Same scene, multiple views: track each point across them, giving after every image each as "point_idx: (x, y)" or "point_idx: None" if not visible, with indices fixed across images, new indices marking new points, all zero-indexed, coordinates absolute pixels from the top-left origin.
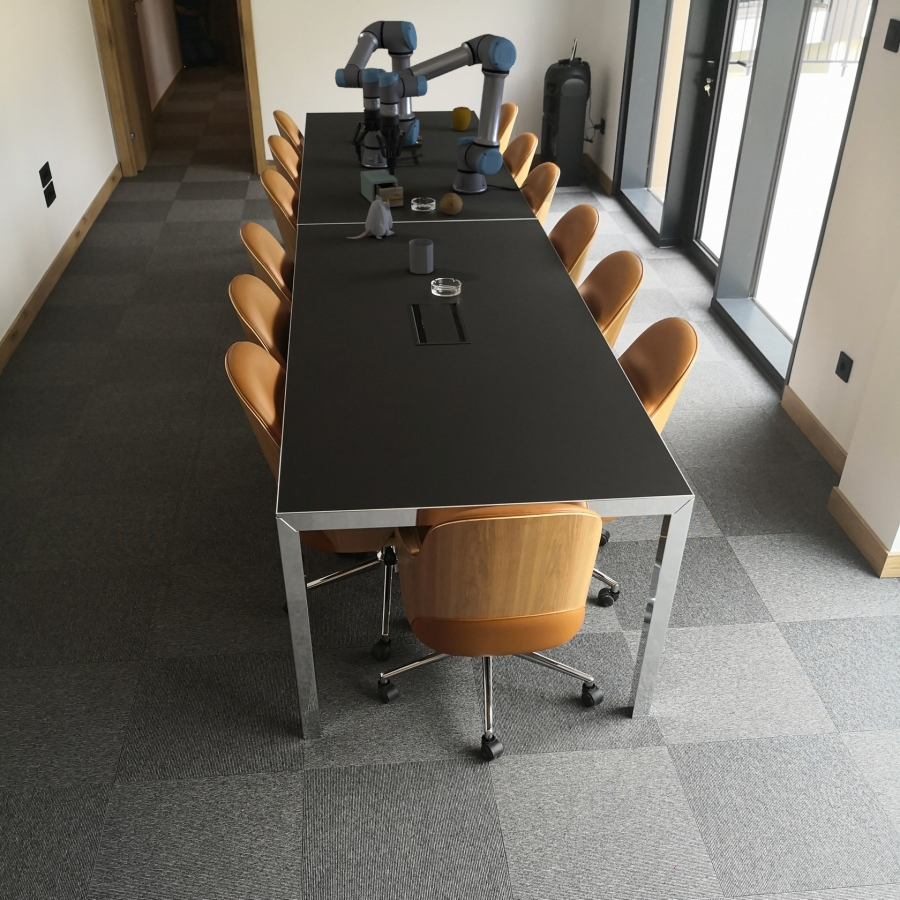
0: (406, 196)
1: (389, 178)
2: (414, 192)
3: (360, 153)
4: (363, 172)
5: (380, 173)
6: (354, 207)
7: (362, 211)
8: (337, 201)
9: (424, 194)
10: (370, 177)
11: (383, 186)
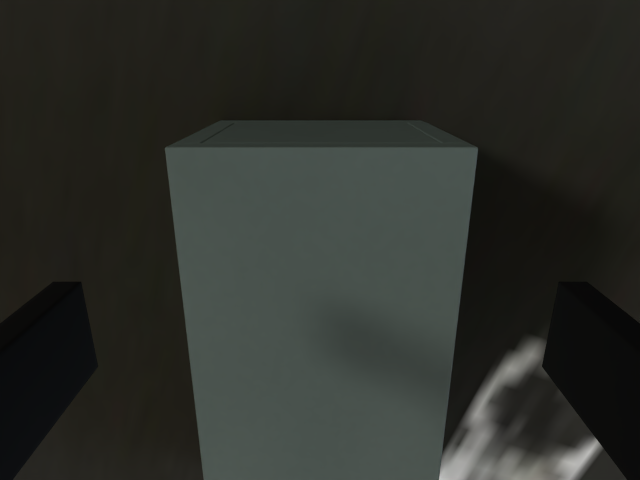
0: (502, 293)
1: (382, 463)
2: (599, 227)
3: (12, 464)
4: (193, 196)
5: (361, 296)
6: (118, 385)
7: (153, 458)
8: (18, 239)
9: (633, 293)
10: (225, 386)
11: None
